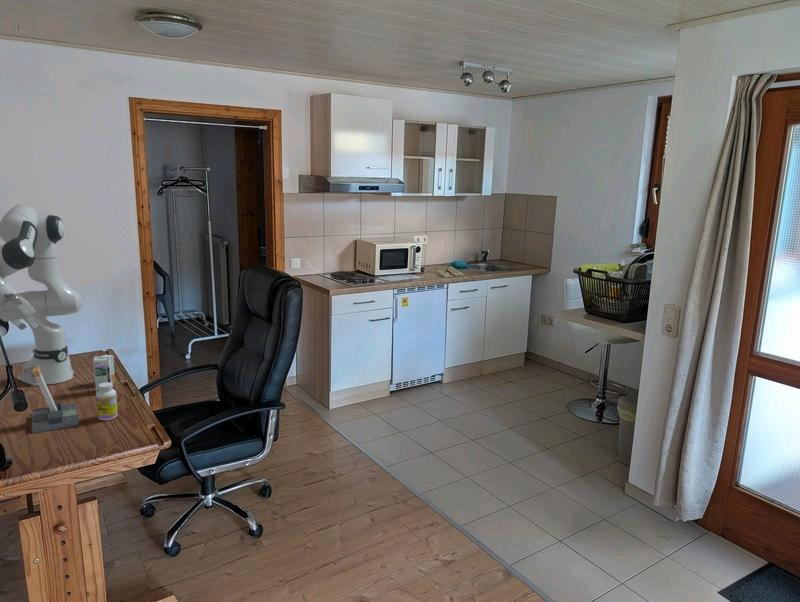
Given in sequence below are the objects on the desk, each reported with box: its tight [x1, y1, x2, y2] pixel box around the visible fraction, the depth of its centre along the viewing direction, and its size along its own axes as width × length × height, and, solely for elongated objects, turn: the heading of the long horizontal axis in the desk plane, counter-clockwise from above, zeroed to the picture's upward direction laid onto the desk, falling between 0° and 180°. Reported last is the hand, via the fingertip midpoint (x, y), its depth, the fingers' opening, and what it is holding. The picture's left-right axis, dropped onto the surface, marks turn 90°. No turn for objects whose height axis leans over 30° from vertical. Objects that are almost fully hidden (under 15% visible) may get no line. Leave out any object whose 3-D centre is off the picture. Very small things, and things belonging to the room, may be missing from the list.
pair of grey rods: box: [32, 403, 77, 412], centre depth 216 cm, size 14×3×2 cm, turn 121°
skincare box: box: [102, 354, 116, 384], centre depth 243 cm, size 6×4×12 cm
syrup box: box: [92, 355, 111, 394], centre depth 235 cm, size 6×6×14 cm
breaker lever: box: [32, 367, 57, 412], centre depth 203 cm, size 2×7×18 cm, turn 31°
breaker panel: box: [31, 401, 80, 434], centre depth 206 cm, size 14×16×5 cm
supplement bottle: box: [95, 382, 118, 421], centre depth 210 cm, size 7×7×13 cm
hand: (29, 328), depth 195 cm, fingers open, 8 cm apart
